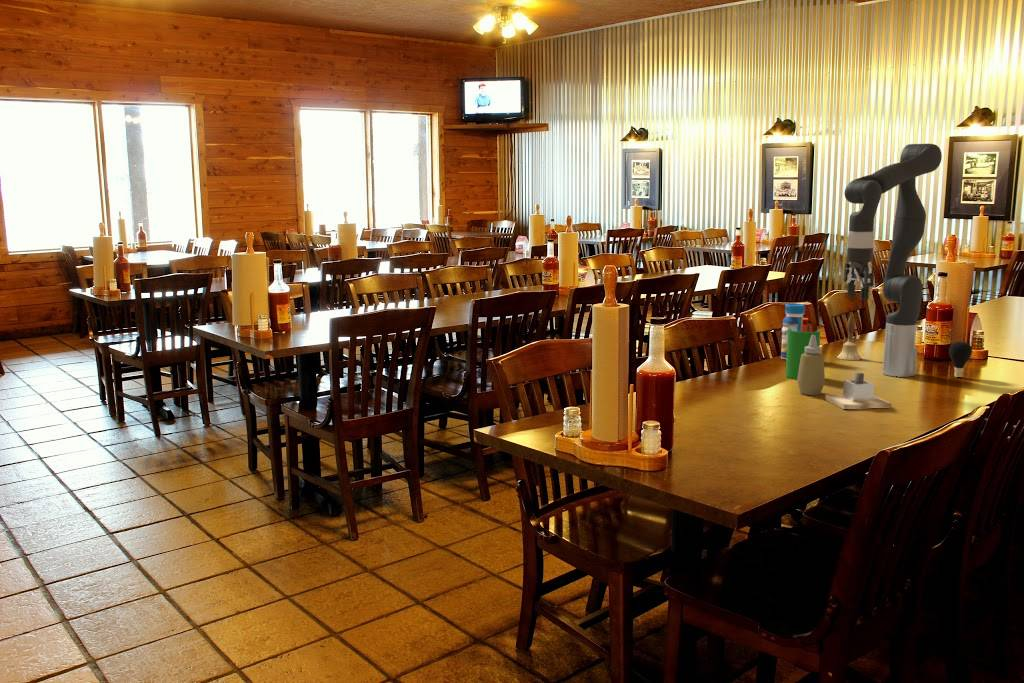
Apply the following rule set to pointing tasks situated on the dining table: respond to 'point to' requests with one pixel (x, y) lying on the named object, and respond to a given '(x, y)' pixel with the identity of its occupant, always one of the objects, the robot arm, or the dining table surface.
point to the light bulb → (960, 356)
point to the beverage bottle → (791, 323)
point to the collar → (858, 391)
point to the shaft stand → (849, 404)
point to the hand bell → (850, 343)
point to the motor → (798, 347)
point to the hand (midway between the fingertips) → (857, 298)
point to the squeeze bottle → (811, 369)
